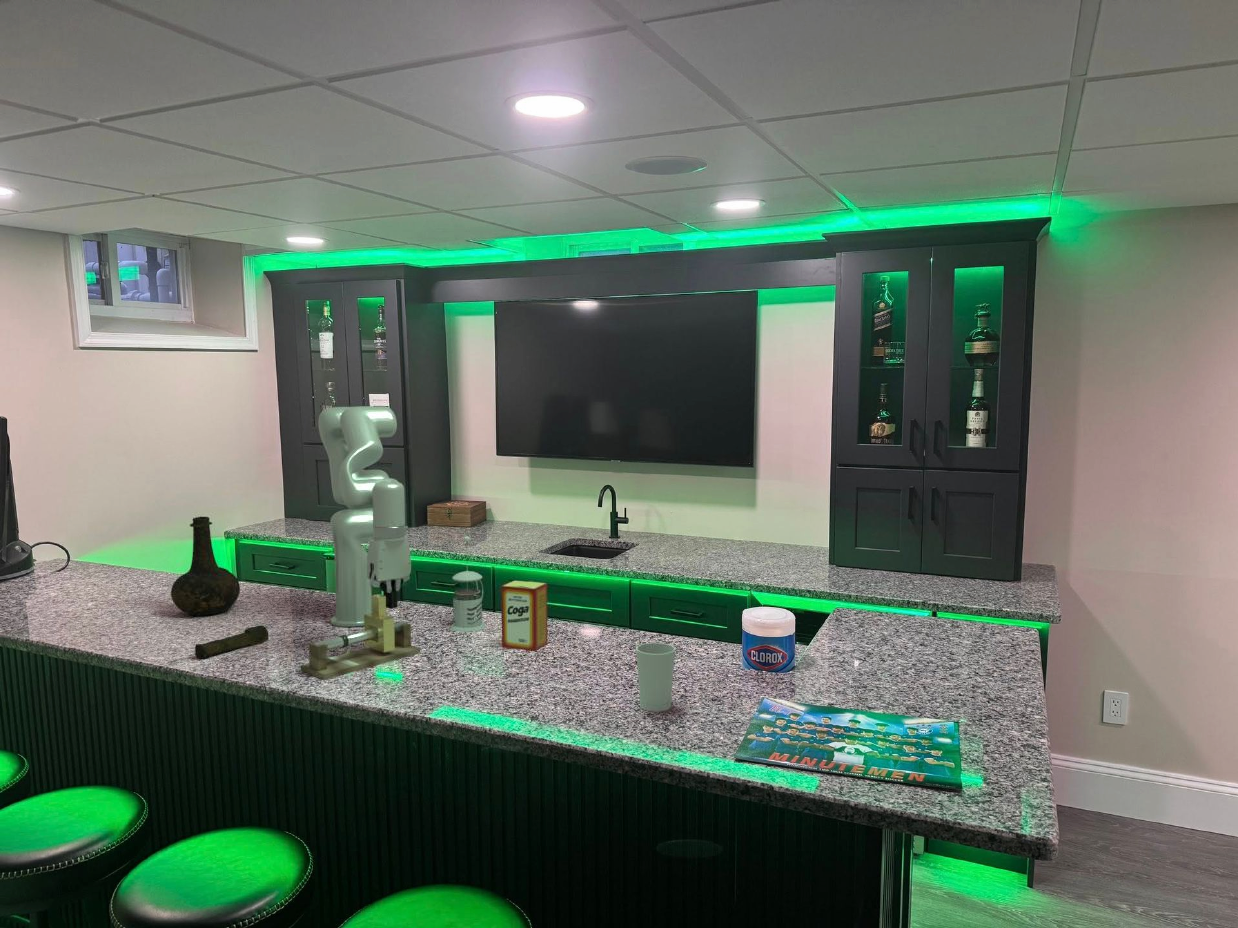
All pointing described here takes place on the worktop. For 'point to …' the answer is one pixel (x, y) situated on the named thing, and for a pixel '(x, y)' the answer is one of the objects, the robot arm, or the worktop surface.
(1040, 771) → the worktop surface
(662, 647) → the cup
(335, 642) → the pipe
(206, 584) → the glass bottle
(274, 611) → the worktop surface
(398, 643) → the pipe stand
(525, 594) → the baking soda box
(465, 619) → the french press
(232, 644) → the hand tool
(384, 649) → the collar
